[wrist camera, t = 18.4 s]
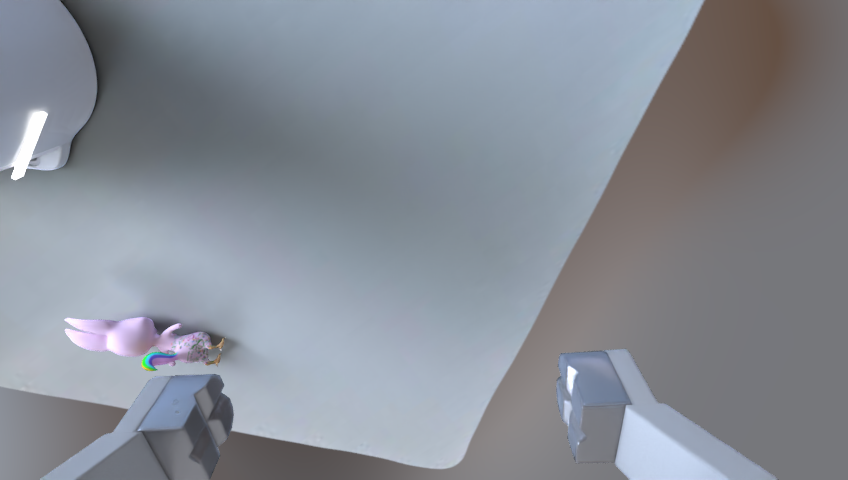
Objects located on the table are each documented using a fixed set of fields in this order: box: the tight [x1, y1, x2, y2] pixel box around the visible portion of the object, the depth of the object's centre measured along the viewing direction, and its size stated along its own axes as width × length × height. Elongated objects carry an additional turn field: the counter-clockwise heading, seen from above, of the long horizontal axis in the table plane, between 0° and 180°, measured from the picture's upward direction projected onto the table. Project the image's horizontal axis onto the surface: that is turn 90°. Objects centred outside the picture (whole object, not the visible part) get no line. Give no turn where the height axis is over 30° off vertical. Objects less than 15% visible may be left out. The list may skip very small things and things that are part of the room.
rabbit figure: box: [65, 317, 225, 371], centre depth 48 cm, size 6×6×15 cm
